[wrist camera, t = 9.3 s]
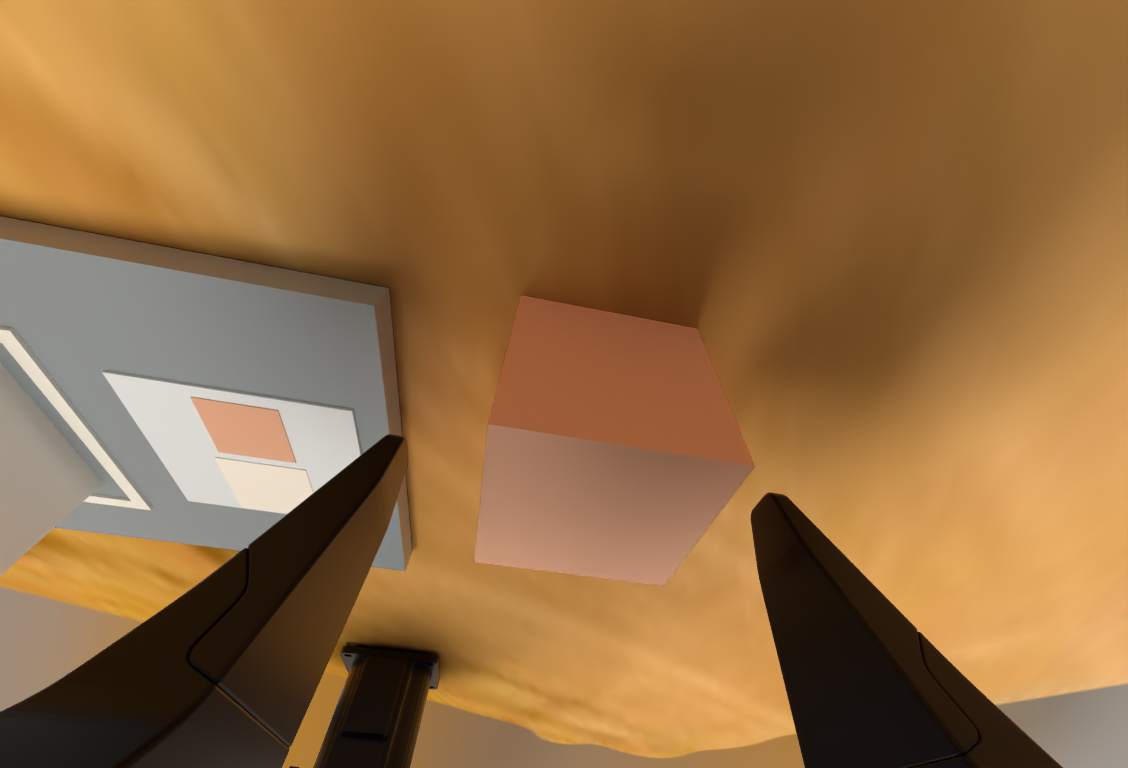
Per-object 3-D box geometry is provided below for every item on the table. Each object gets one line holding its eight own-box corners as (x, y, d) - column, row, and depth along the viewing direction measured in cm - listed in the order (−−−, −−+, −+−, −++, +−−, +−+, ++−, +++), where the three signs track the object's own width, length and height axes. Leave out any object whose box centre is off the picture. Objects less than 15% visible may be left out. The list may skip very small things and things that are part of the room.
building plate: (412, 550, 20) (404, 574, 19) (-52, 491, 18) (-85, 513, 17) (388, 288, 11) (372, 308, 10) (-523, 119, 9) (-642, 126, 8)
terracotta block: (641, 444, 15) (663, 586, 11) (503, 422, 14) (474, 561, 10) (696, 327, 12) (754, 466, 8) (521, 293, 11) (488, 423, 7)
